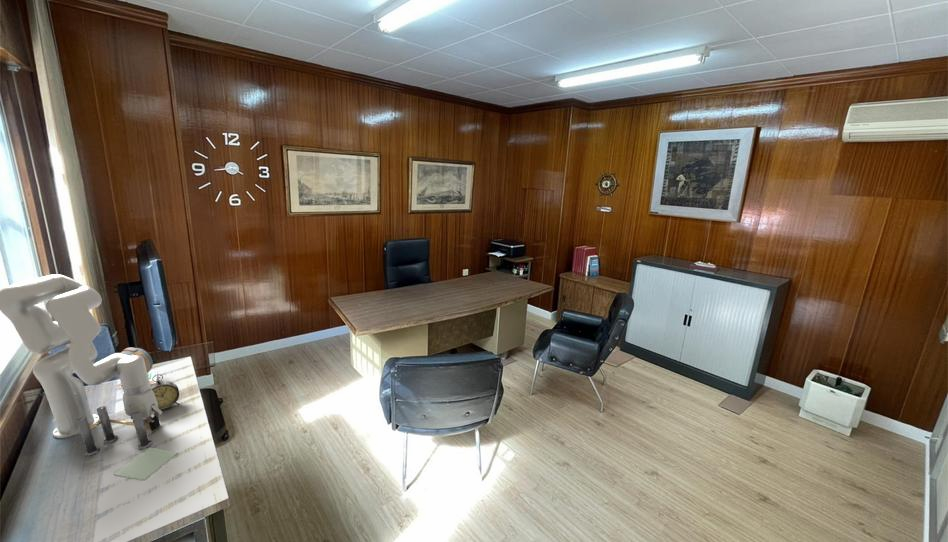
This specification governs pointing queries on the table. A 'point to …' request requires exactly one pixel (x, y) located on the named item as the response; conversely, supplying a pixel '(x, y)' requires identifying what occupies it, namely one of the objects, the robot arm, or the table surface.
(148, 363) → the alarm clock
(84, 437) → the rope barrier
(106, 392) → the table surface
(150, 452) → the pad
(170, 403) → the alarm clock
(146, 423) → the pot
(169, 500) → the table surface
